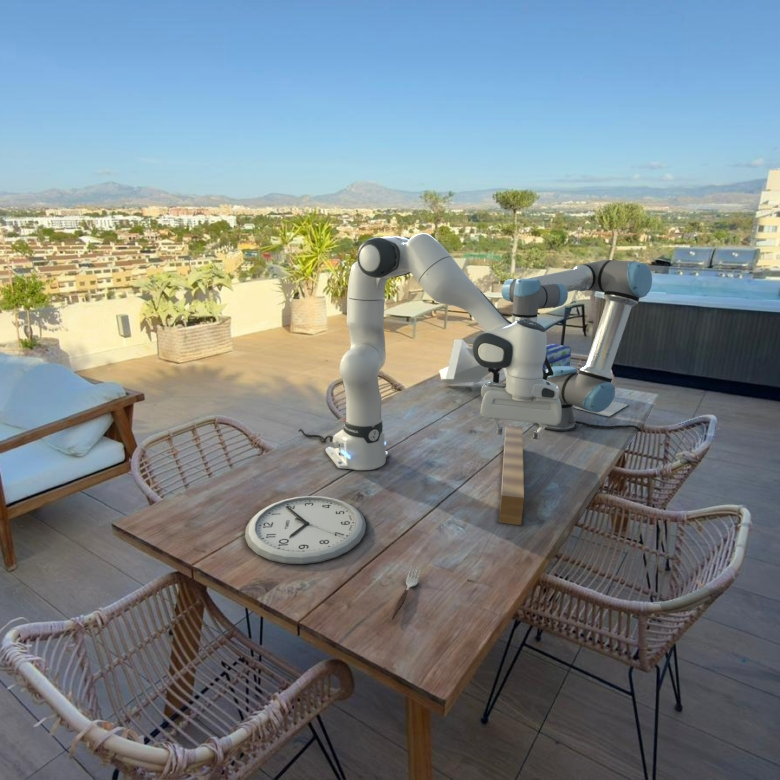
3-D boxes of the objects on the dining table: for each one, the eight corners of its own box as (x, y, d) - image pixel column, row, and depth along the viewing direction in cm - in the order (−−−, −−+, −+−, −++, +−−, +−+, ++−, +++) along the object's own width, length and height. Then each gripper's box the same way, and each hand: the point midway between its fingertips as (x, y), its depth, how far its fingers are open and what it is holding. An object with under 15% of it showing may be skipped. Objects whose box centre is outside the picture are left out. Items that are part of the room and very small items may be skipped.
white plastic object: (461, 429, 252) (437, 405, 227) (444, 352, 274) (420, 323, 250) (535, 404, 240) (518, 377, 215) (510, 326, 262) (492, 293, 237)
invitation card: (608, 416, 214) (573, 407, 224) (608, 416, 214) (573, 408, 224) (628, 404, 229) (594, 396, 238) (628, 405, 229) (594, 397, 238)
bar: (503, 446, 183) (505, 425, 181) (520, 447, 182) (522, 426, 180) (499, 522, 136) (501, 495, 134) (521, 525, 135) (524, 498, 132)
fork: (385, 619, 101) (385, 611, 101) (410, 571, 116) (411, 563, 115) (398, 623, 100) (398, 614, 100) (422, 574, 115) (422, 566, 114)
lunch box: (542, 396, 239) (547, 351, 232) (522, 391, 246) (526, 347, 240) (570, 385, 256) (575, 343, 250) (550, 380, 263) (554, 339, 257)
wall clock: (368, 555, 118) (233, 560, 116) (368, 561, 119) (233, 566, 116) (363, 491, 147) (255, 494, 144) (363, 496, 147) (255, 499, 145)
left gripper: (481, 384, 131) (476, 435, 135) (566, 393, 127) (558, 445, 131) (482, 378, 137) (477, 427, 141) (563, 386, 133) (556, 436, 137)
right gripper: (482, 330, 162) (478, 394, 169) (566, 333, 157) (559, 400, 163) (483, 325, 169) (480, 388, 176) (564, 329, 164) (557, 393, 170)
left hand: (517, 436), depth 136 cm, fingers open, 8 cm apart
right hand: (518, 394), depth 169 cm, fingers open, 13 cm apart
